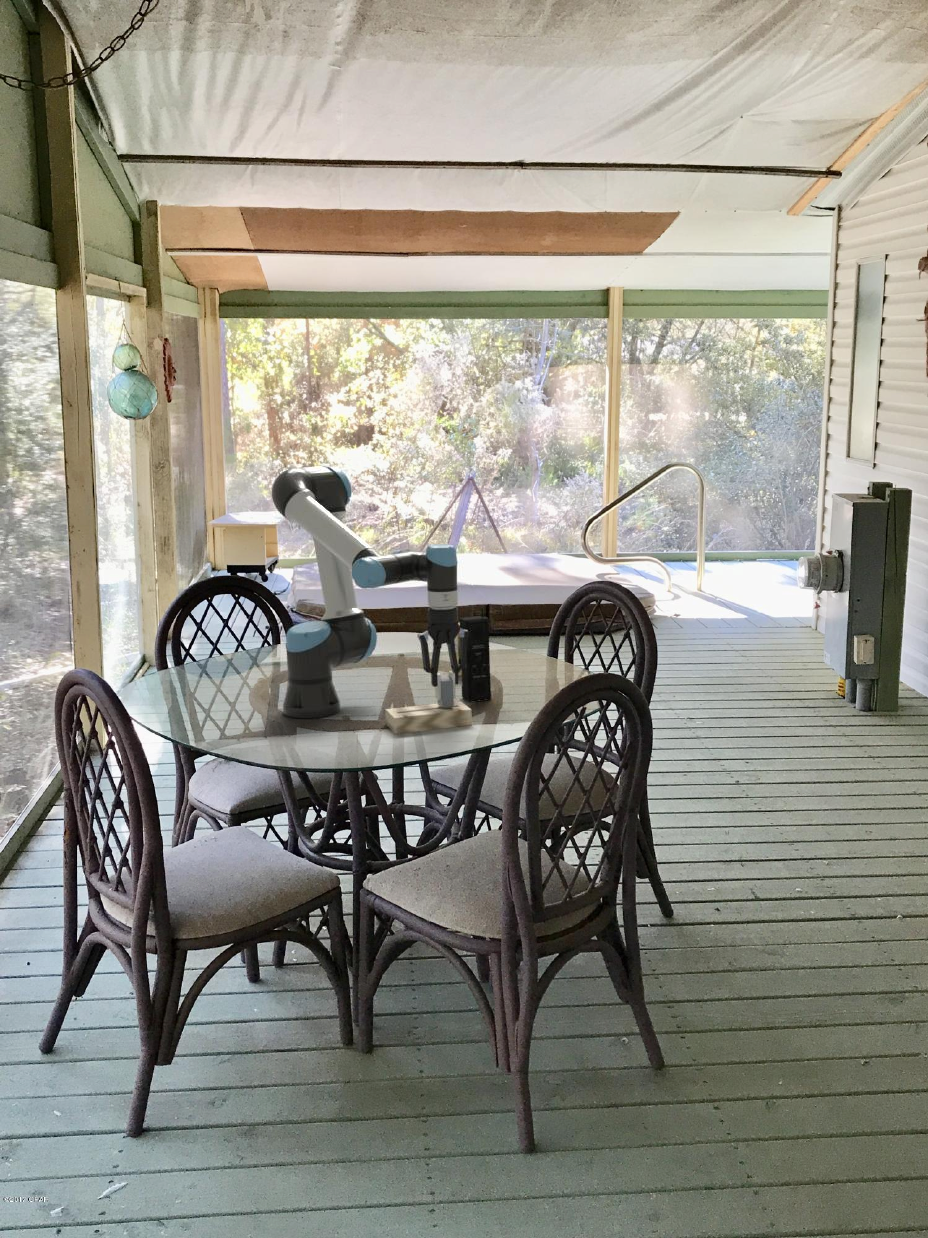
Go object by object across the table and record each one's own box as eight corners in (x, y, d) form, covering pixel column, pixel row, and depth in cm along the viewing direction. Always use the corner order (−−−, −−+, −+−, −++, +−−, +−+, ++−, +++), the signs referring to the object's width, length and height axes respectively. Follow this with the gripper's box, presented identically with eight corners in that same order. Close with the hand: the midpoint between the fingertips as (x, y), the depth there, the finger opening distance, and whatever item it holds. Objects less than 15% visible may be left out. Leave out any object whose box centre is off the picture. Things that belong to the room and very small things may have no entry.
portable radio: (466, 703, 311) (463, 612, 306) (457, 698, 316) (455, 609, 312) (492, 700, 314) (490, 609, 309) (483, 695, 319) (481, 606, 315)
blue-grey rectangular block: (442, 708, 290) (441, 681, 289) (437, 704, 294) (436, 677, 292) (453, 707, 291) (453, 680, 290) (448, 703, 295) (448, 676, 293)
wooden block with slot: (395, 733, 284) (394, 717, 284) (386, 724, 293) (385, 708, 292) (471, 724, 291) (471, 708, 290) (460, 716, 299) (460, 700, 298)
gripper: (416, 611, 282) (419, 704, 286) (478, 606, 286) (480, 698, 291) (407, 606, 289) (410, 697, 293) (468, 601, 293) (470, 691, 298)
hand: (445, 697), depth 292 cm, fingers closed on blue-grey rectangular block, 3 cm apart
